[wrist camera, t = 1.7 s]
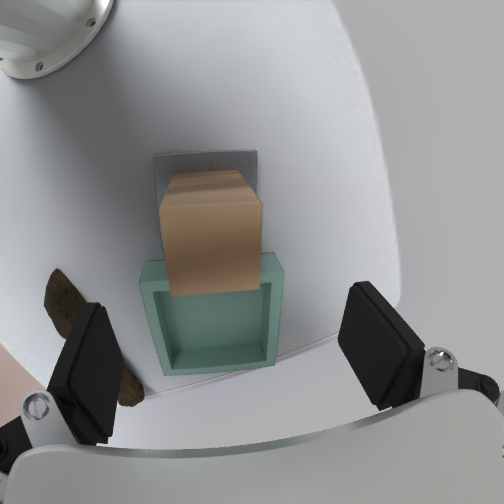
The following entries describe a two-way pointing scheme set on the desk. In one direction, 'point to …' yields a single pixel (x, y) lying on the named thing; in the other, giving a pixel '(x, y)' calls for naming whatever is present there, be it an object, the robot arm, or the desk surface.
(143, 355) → the desk surface
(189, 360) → the bin
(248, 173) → the stud base
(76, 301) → the hand tool
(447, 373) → the robot arm
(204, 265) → the brown wooden block
